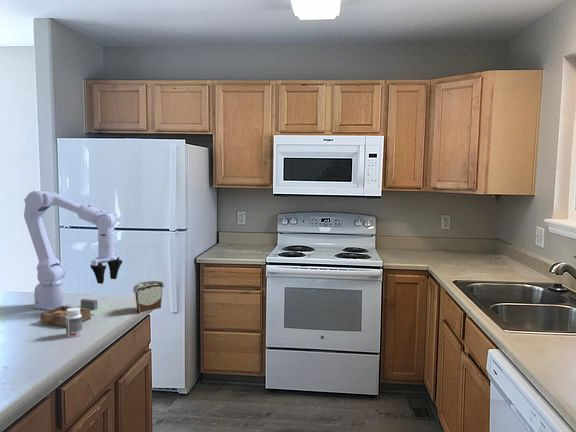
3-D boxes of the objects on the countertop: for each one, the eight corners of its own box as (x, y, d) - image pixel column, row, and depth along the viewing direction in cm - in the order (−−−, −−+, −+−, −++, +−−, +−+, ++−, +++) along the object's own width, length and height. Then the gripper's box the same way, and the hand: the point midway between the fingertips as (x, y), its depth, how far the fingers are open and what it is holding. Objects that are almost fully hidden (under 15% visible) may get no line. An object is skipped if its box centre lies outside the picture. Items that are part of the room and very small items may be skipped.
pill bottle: (85, 333, 154) (85, 307, 153) (75, 338, 150) (74, 311, 149) (73, 331, 155) (72, 306, 155) (62, 336, 151) (62, 310, 150)
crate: (40, 323, 163) (40, 313, 162) (62, 315, 172) (62, 305, 172) (70, 327, 159) (69, 317, 159) (90, 318, 169) (90, 309, 168)
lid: (65, 313, 176) (64, 302, 176) (85, 305, 186) (84, 295, 186) (93, 317, 173) (93, 305, 172) (112, 309, 183) (112, 298, 182)
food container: (154, 304, 188) (154, 279, 187) (164, 307, 184) (164, 281, 183) (126, 310, 179) (126, 284, 178) (136, 314, 175) (135, 287, 174)
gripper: (102, 249, 171) (103, 286, 173) (127, 243, 185) (127, 277, 187) (86, 247, 174) (87, 284, 175) (111, 242, 187) (112, 276, 189)
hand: (107, 281), depth 181 cm, fingers open, 7 cm apart
